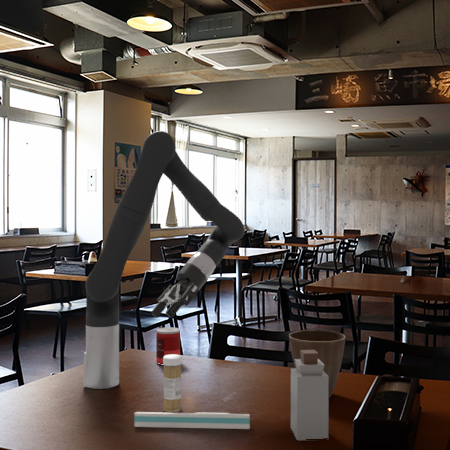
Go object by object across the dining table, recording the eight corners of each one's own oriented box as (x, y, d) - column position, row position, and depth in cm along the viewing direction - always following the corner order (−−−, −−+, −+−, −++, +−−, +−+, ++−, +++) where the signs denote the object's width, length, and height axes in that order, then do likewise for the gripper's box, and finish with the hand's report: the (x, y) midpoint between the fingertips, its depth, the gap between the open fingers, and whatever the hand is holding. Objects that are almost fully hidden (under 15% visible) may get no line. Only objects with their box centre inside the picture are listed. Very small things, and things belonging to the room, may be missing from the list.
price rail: (134, 426, 121) (134, 413, 121) (142, 412, 131) (143, 399, 131) (249, 429, 120) (249, 415, 120) (249, 413, 130) (249, 401, 130)
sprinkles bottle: (174, 406, 135) (175, 352, 135) (185, 410, 132) (185, 356, 132) (159, 410, 133) (159, 355, 133) (169, 415, 129) (169, 359, 129)
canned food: (183, 360, 180) (183, 328, 180) (173, 366, 173) (173, 332, 173) (162, 359, 183) (163, 326, 183) (152, 364, 175) (152, 331, 175)
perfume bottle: (290, 428, 121) (290, 348, 121) (320, 427, 121) (320, 347, 121) (297, 440, 114) (297, 355, 114) (328, 439, 115) (328, 355, 115)
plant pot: (300, 406, 136) (300, 342, 136) (281, 388, 150) (281, 331, 150) (355, 402, 139) (355, 340, 139) (331, 385, 153) (332, 328, 153)
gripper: (175, 264, 155) (140, 306, 147) (201, 260, 144) (164, 305, 136) (192, 282, 158) (158, 324, 150) (218, 279, 146) (183, 325, 138)
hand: (160, 315), depth 143 cm, fingers open, 8 cm apart
